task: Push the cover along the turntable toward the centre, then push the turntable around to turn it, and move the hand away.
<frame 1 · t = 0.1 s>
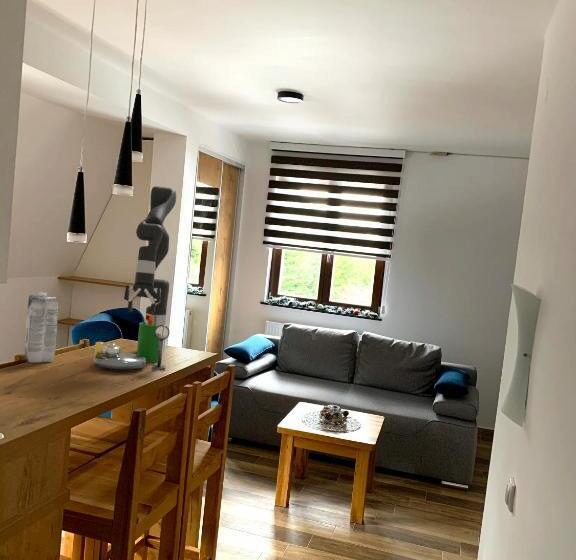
hand: (140, 312, 252), 22 cm above the table, tool pointing down, fingers open, 8 cm apart
turntable: (120, 353, 249), point 6 cm above the table, hinge at -35.0°, touching cover
green tall piece: (147, 360, 268), on the table
cover: (110, 355, 251), point 4 cm above the table, touching turntable
dial gauge stand: (158, 368, 254), on the table
juice carton: (39, 361, 247), on the table
turntable base: (119, 367, 249), on the table
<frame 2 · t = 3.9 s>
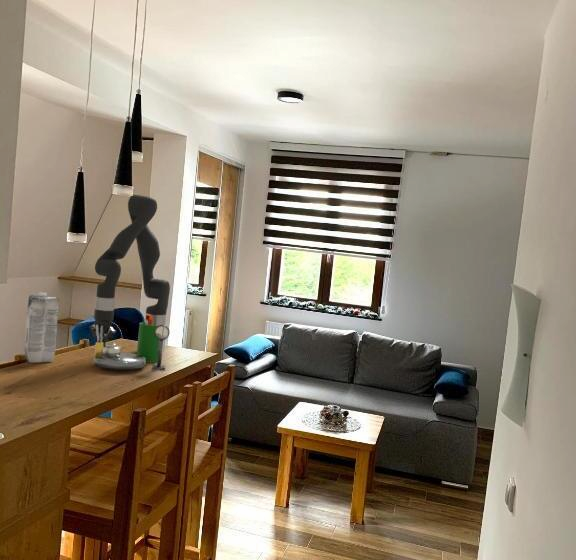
hand: (100, 350, 253), 5 cm above the table, tool pointing down, fingers closed
cover: (111, 355, 251), point 4 cm above the table, touching gripper, turntable
everything else where it was.
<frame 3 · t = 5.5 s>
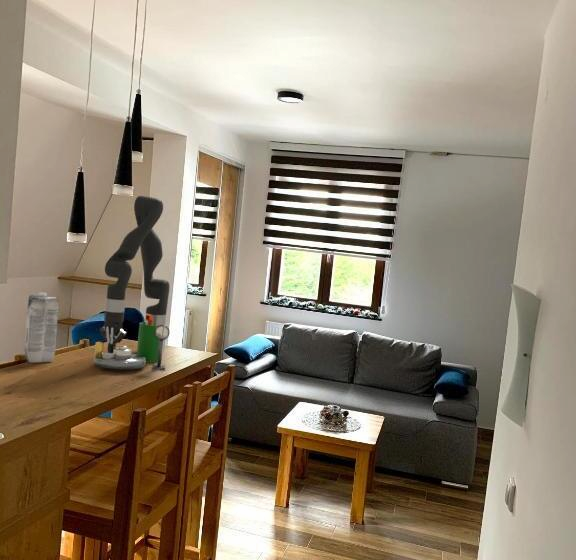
hand: (111, 352, 251), 5 cm above the table, tool pointing down, fingers closed
cover: (122, 357, 249), point 4 cm above the table, touching gripper, turntable
everything else where it was.
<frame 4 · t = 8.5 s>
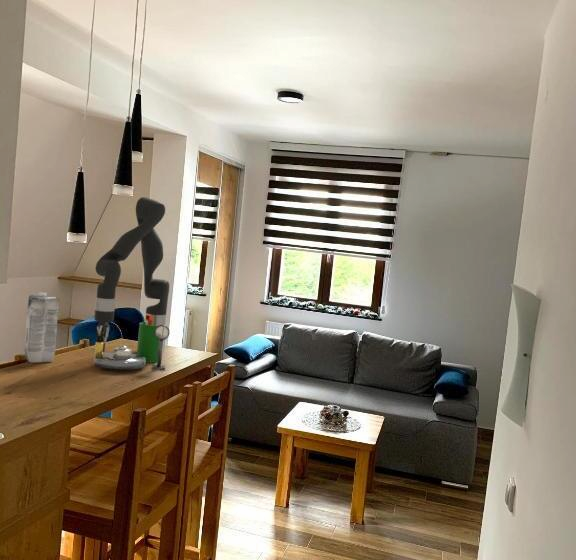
hand: (101, 351, 251), 5 cm above the table, tool pointing down, fingers closed
cover: (122, 357, 249), point 4 cm above the table, touching turntable
everything else where it was.
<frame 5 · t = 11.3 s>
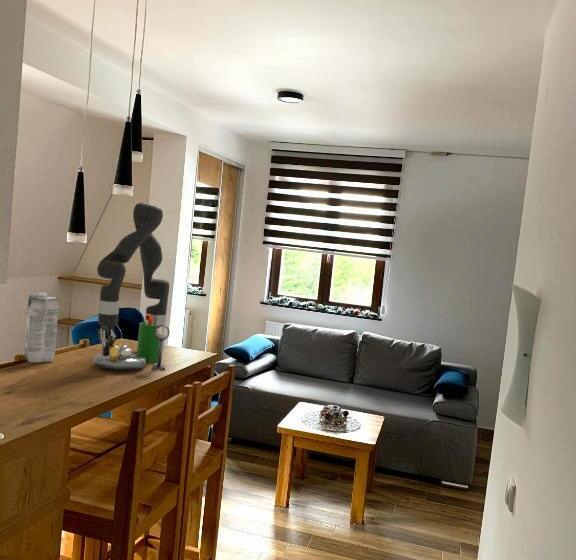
hand: (105, 355, 243), 5 cm above the table, tool pointing down, fingers closed
turntable: (120, 353, 249), point 6 cm above the table, hinge at 24.5°, touching cover, hand
everything else where it was.
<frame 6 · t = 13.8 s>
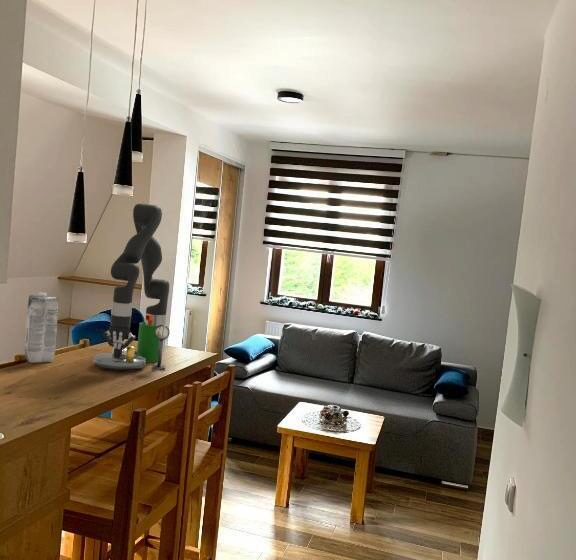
hand: (117, 357, 242), 5 cm above the table, tool pointing down, fingers closed
turntable: (120, 353, 249), point 6 cm above the table, hinge at 67.0°, touching cover, hand
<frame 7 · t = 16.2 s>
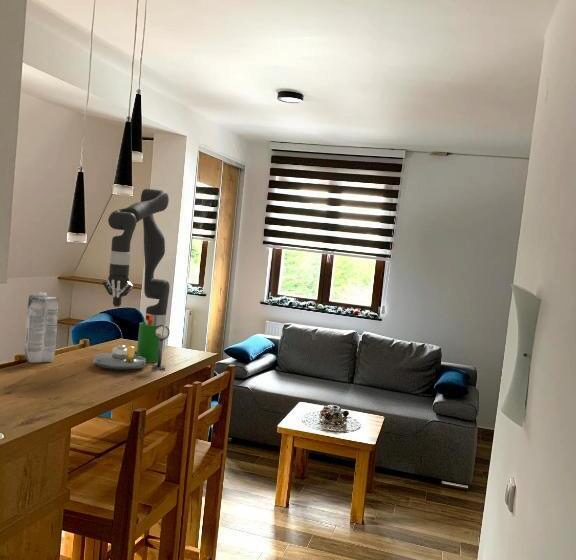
hand: (116, 306, 247), 24 cm above the table, tool pointing down, fingers closed
turntable: (120, 353, 249), point 6 cm above the table, hinge at 67.1°, touching cover
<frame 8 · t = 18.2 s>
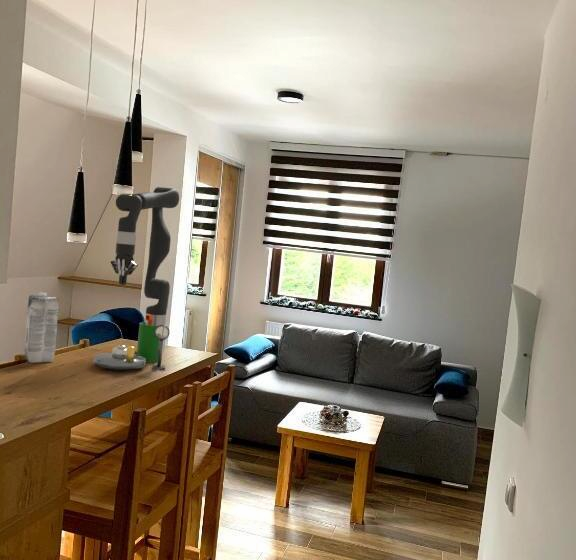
hand: (122, 284, 258), 32 cm above the table, tool pointing down, fingers closed
at the end: cover 0.9 cm from the turntable (horizontally); turntable at +67° (first picture: -35°); cover tilted 0° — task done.
